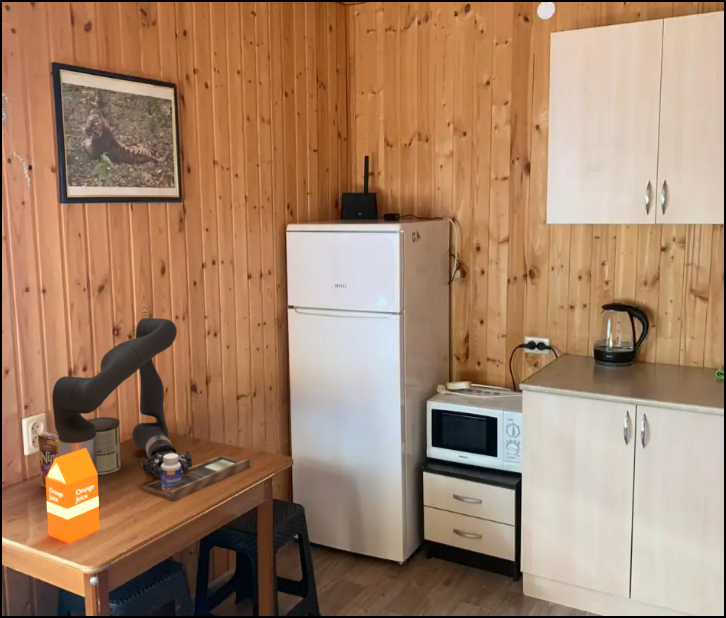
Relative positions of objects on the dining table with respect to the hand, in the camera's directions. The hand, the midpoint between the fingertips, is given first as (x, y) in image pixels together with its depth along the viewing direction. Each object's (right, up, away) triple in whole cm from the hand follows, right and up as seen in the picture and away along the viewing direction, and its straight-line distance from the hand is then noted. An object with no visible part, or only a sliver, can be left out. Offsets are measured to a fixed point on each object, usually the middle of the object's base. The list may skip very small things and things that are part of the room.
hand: (172, 471), depth 199 cm
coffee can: (-25, -3, +17) cm, 30 cm away
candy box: (-32, -5, +2) cm, 33 cm away
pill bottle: (-1, -6, +3) cm, 7 cm away
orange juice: (-18, -10, -23) cm, 30 cm away
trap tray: (+4, -4, +11) cm, 13 cm away
